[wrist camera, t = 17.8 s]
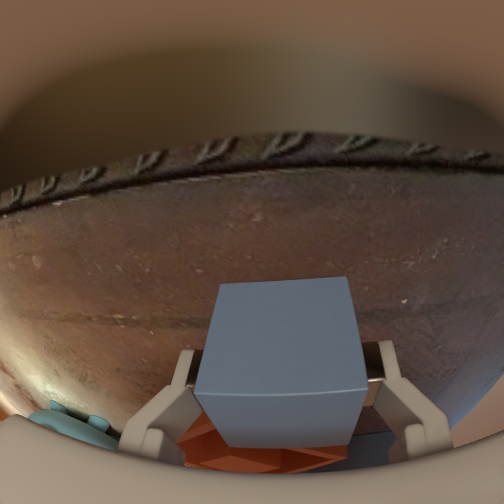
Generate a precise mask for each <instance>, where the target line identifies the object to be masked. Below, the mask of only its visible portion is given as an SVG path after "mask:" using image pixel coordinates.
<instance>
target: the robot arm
mask: <svg viewBox="0 0 504 504" xmlns="http://www.w3.org/2000/svg"><path fill="white" fill-rule="evenodd" d="M361 345H362V350H363V355H364V361H365V367H366V373H367V379H368V385H369V389H368V392H367V395H366V398H365V401H364V404H363V406H372V405H373V408H374V409H375V410H376V411H377V412H378V414H379V415H380V416H381V417H382V419H383V420H384V421H385V422H386V424H387V425H388V426H389V427H390V429H391V430H392V431H393V432H394V433H395V435H396V436H397V437H398V439H397V440H396V441H395V443H394V444H393V445H392V447H391V448H390V449H389V450H388V463H389V464H386V465H380V466H374V467H368V468H360V469H352V470H343V471H333V472H319V473H296V474H267V473H243V472H229V471H219V470H209V469H201V468H194V467H187V466H184V463H185V458H186V453H185V452H184V451H183V450H182V449H181V448H180V447H179V446H178V445H177V444H176V443H177V441H178V440H179V439H180V438H181V437H182V436H183V435H184V433H185V432H186V431H187V430H188V429H189V428H190V426H191V425H192V424H193V423H194V422H195V421H196V419H197V418H198V417H199V416H200V415H201V414H202V412H203V410H204V409H203V408H202V406H201V404H200V403H199V401H198V400H197V398H196V396H195V395H194V389H195V384H196V380H197V376H198V372H199V368H200V364H201V359H202V355H203V351H204V350H196V349H183V350H182V351H181V353H180V356H179V359H178V362H177V365H176V369H175V372H174V375H173V379H172V382H171V385H166V386H165V387H164V388H163V389H162V390H161V391H160V392H159V393H158V394H157V395H155V396H154V397H153V398H152V399H151V400H150V401H149V402H148V403H146V404H145V405H144V406H143V407H142V408H141V409H140V410H139V411H137V412H136V413H135V414H134V415H133V416H132V417H131V418H129V419H128V420H127V421H126V423H125V426H124V429H123V432H122V435H121V438H120V441H119V444H118V447H117V450H116V451H114V450H110V449H107V448H103V447H100V446H97V445H94V444H91V443H88V442H85V441H82V440H79V439H76V438H73V437H71V436H68V435H65V434H63V433H60V432H58V431H55V430H53V429H50V428H48V427H45V426H43V425H41V424H39V423H36V422H34V421H32V420H30V419H28V418H26V417H24V416H21V415H18V414H14V415H12V416H10V417H8V418H7V419H5V420H4V421H2V422H1V423H0V504H504V430H502V431H500V432H497V433H495V434H493V435H490V436H487V437H485V438H482V439H479V440H477V441H474V442H471V443H468V444H465V445H462V446H459V447H456V448H454V447H453V443H452V438H451V433H450V428H449V424H448V420H447V416H446V415H445V414H444V413H443V412H442V411H441V410H440V409H439V408H438V407H437V406H436V405H435V404H433V403H432V402H431V401H430V400H429V399H428V398H427V397H426V396H425V395H424V394H423V393H422V392H421V391H420V390H418V389H417V388H416V387H415V386H414V385H413V384H412V383H411V382H410V381H409V380H408V379H407V378H406V377H404V378H401V373H400V369H399V365H398V361H397V357H396V354H395V350H394V346H393V342H392V341H391V340H386V341H379V342H376V341H375V342H367V343H361Z"/></svg>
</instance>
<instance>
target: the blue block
mask: <svg viewBox="0 0 504 504" xmlns="http://www.w3.org/2000/svg"><path fill="white" fill-rule="evenodd" d="M368 389H369V385H368V379H367V373H366V367H365V361H364V355H363V350H362V345H361V339H360V334H359V329H358V324H357V319H356V314H355V310H354V305H353V300H352V296H351V292H350V287H349V283H348V279H347V277H346V276H341V277H328V278H314V279H299V280H283V281H266V282H248V283H229V284H221V285H220V288H219V291H218V295H217V299H216V303H215V307H214V311H213V315H212V319H211V323H210V327H209V331H208V335H207V339H206V343H205V347H204V351H203V355H202V359H201V364H200V368H199V372H198V376H197V380H196V384H195V389H194V395H195V396H196V398H197V400H198V401H199V403H200V404H201V406H202V408H203V409H204V411H205V412H206V414H207V415H208V417H209V418H210V420H211V421H212V423H213V424H214V426H215V427H216V429H217V430H218V432H219V433H220V435H221V436H222V438H223V439H224V441H225V442H226V444H227V445H228V446H229V447H241V448H312V447H327V446H339V445H348V444H349V442H350V439H351V437H352V434H353V432H354V429H355V426H356V424H357V421H358V418H359V416H360V413H361V410H362V407H363V404H364V401H365V398H366V395H367V392H368Z"/></svg>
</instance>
